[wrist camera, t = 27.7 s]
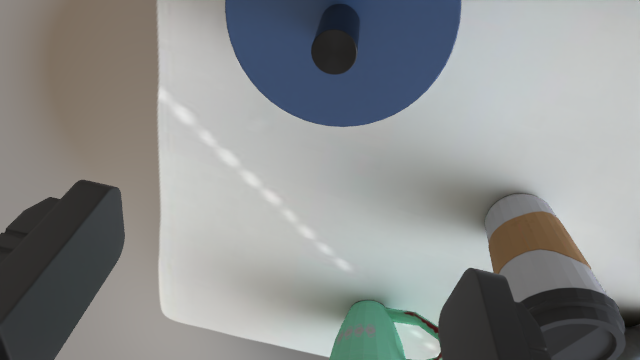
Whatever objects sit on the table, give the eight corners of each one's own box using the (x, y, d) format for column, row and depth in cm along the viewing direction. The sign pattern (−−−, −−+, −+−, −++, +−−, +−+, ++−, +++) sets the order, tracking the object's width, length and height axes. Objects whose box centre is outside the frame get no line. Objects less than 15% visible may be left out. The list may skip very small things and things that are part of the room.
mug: (350, 341, 59) (346, 415, 51) (317, 297, 55) (308, 372, 47) (455, 318, 54) (469, 396, 46) (428, 268, 50) (439, 346, 42)
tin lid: (240, -149, 22) (203, -154, 17) (499, -82, 22) (534, -68, 17) (222, 94, 30) (193, 137, 25) (412, 138, 30) (420, 189, 25)
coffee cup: (456, 226, 45) (487, 356, 33) (511, 170, 41) (569, 298, 29) (520, 255, 47) (571, 390, 35) (579, 205, 42) (662, 340, 30)
